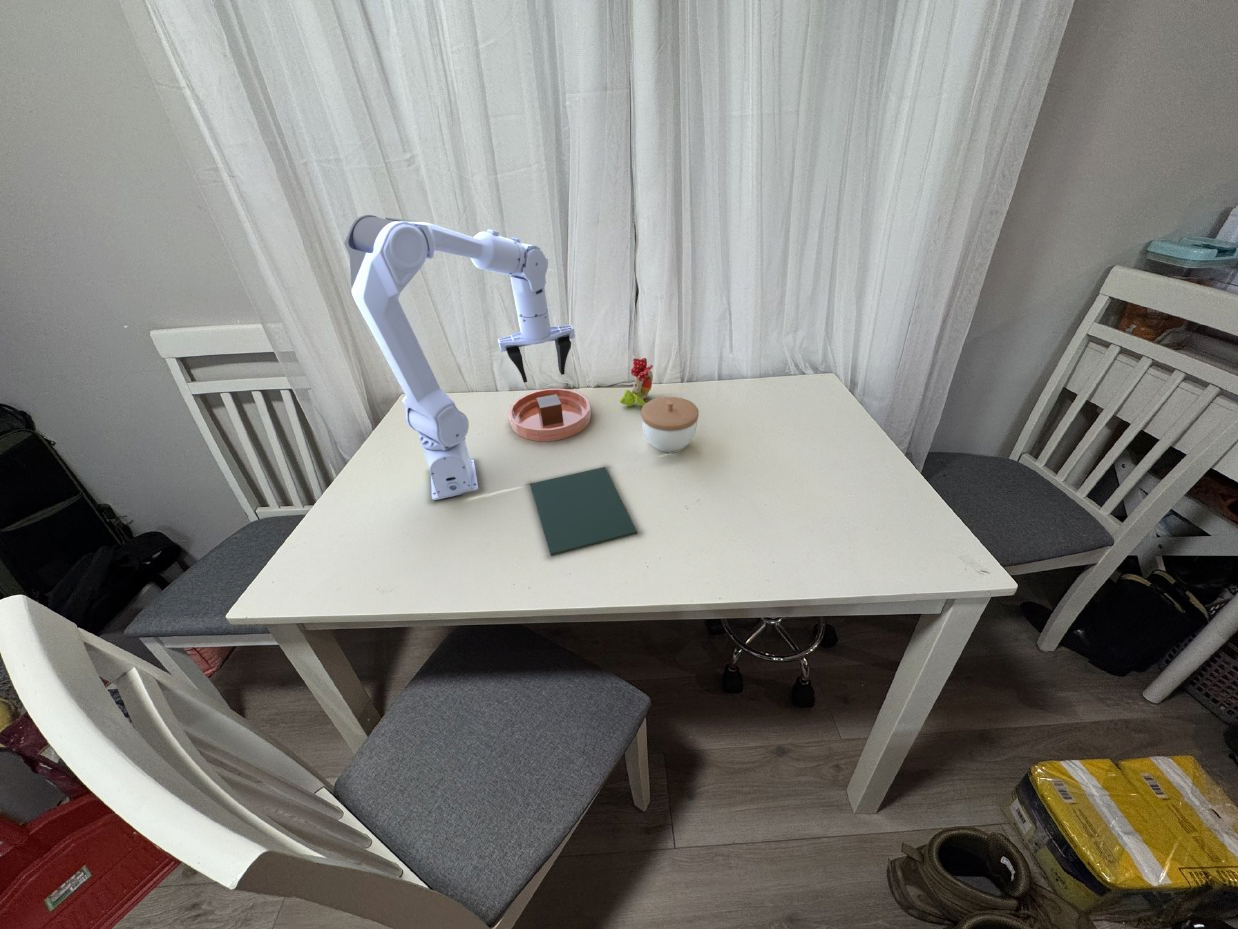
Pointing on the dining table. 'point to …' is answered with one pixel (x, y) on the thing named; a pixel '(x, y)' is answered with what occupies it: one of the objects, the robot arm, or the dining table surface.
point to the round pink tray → (531, 426)
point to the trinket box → (669, 423)
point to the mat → (581, 510)
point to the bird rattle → (639, 383)
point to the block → (550, 410)
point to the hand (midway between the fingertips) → (543, 376)
